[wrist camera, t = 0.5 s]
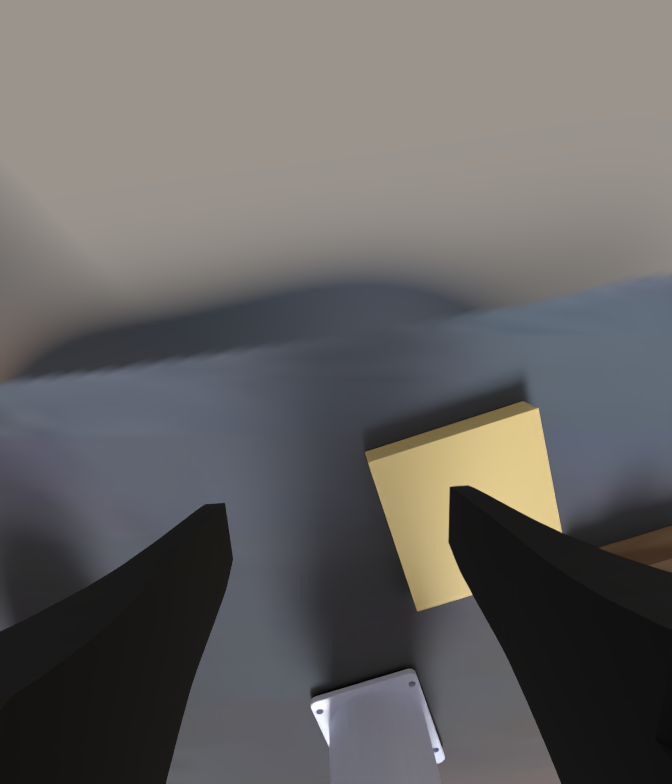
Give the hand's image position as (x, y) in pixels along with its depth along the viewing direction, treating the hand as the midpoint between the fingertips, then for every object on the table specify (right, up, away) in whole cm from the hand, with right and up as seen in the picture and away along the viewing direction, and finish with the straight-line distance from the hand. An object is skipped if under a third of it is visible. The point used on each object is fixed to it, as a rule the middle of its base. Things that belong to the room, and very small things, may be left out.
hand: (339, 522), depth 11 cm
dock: (+8, -3, +11) cm, 14 cm away
